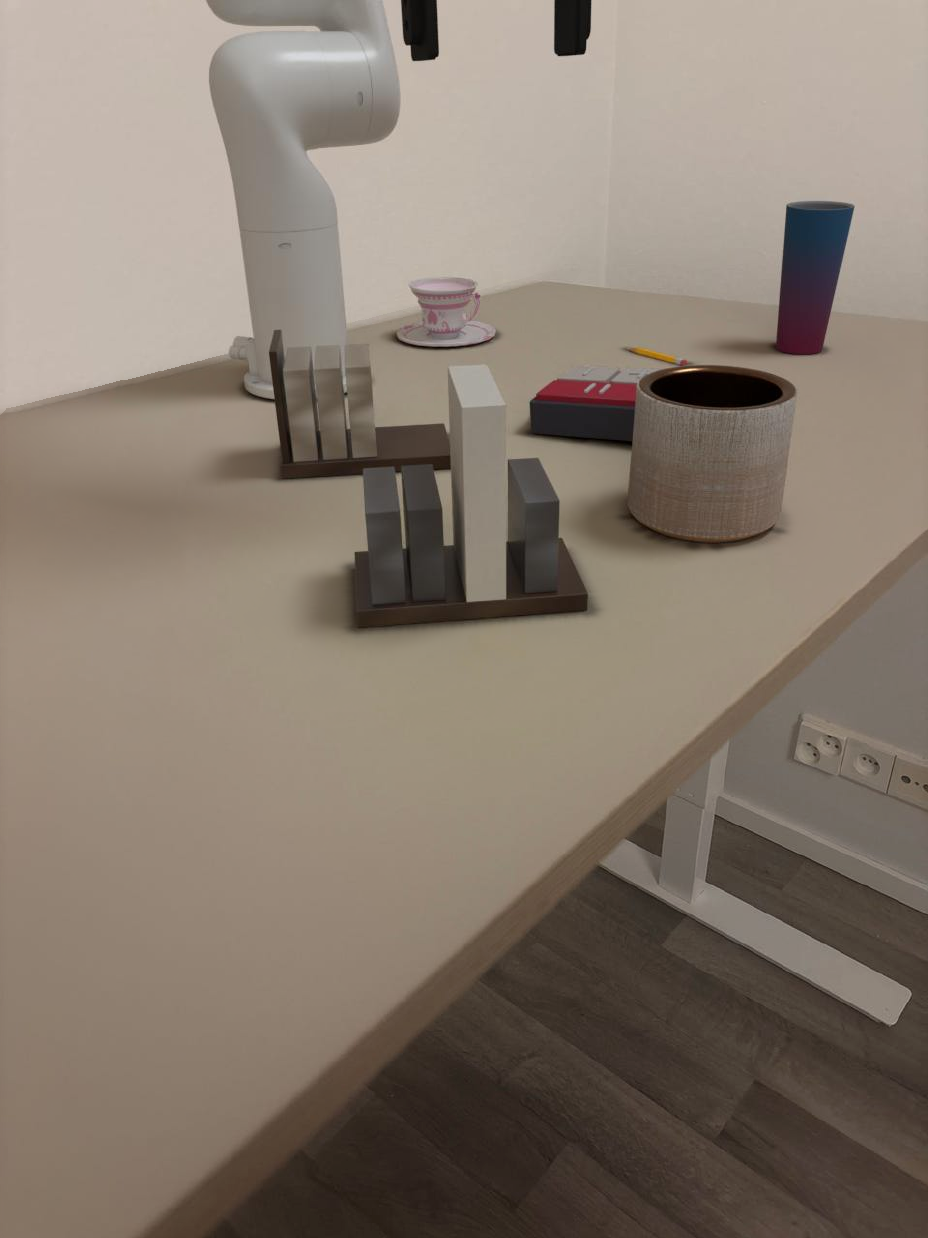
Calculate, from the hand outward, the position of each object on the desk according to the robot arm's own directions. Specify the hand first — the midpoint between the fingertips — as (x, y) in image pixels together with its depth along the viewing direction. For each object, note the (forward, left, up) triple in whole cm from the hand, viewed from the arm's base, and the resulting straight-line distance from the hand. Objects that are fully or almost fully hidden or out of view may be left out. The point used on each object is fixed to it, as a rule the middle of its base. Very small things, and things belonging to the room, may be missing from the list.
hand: (499, 57), depth 59 cm
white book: (+4, -13, -28) cm, 32 cm away
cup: (+14, +52, -30) cm, 61 cm away
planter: (+15, +3, -30) cm, 33 cm away
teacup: (-26, +43, -30) cm, 59 cm away
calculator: (+4, +20, -30) cm, 36 cm away
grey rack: (+4, -14, -29) cm, 33 cm away
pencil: (0, +43, -30) cm, 52 cm away
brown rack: (-14, +4, -29) cm, 33 cm away
